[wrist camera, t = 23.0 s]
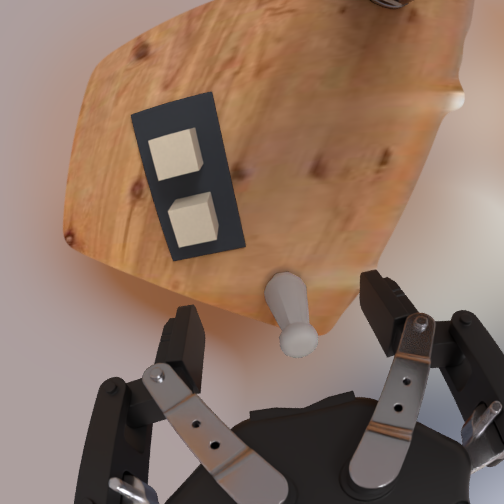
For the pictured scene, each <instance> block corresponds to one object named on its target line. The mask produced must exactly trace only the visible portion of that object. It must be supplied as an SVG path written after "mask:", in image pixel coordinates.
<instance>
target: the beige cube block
mask: <svg viewBox="0 0 504 504" xmlns="http://www.w3.org/2000/svg"><path fill="white" fill-rule="evenodd" d="M168 214H169V217H170V220H171V224H172V227H173V230H174V233H175V236H176V239H177V243H178V246H179V247H184V246H189V245H194V244H198V243H203V242H208V241H213V240H217V235H218V227H219V224H218V220H217V216H216V212H215V208H214V204H213V200H212V196H211V192H206V193H201V194H197V195H193V196H189V197H184V198H180V199H176V200H175V201H174V203H173V204H172V206H171V207H170V209H169V210H168Z"/></svg>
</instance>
